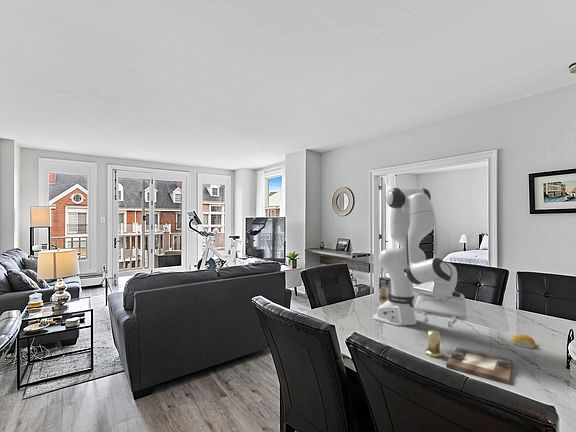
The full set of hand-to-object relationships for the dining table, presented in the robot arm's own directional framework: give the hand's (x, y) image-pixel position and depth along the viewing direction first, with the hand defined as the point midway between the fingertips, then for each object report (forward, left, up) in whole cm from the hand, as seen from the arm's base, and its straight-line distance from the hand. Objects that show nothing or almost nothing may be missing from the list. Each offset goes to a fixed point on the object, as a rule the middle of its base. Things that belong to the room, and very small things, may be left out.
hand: (437, 324), depth 130 cm
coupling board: (+16, -4, -11) cm, 20 cm away
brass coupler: (0, -4, -11) cm, 12 cm away
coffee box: (-44, +59, -11) cm, 74 cm away
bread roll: (+27, +30, -11) cm, 43 cm away
